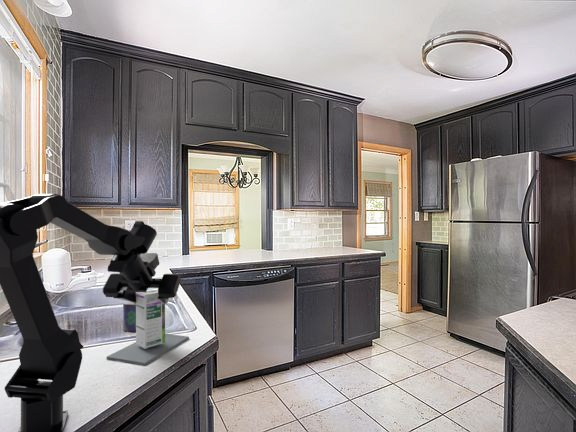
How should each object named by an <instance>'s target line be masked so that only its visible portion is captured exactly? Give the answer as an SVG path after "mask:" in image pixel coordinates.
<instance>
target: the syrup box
mask: <svg viewBox="0 0 576 432" xmlns="http://www.w3.org/2000/svg"><path fill="white" fill-rule="evenodd" d="M158 296H159V295H158V288H152V289H147V291H146V292H136V333H135V342H136V344H138V345H139V346H141V347H142V348H144V349H147V348H149V347H153V346H156V345H159V344H163V343H165V334H166V304H165V303H164V302H162V301H161V300H159V299H158Z"/></svg>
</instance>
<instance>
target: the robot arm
mask: <svg viewBox="0 0 576 432" xmlns="http://www.w3.org/2000/svg"><path fill="white" fill-rule="evenodd" d="M49 224H53V226H54V225H55V226H57V227H58V228H61V229H63V230H65V231H66V232H69V233H70V234H73V235H74V236H77V237H79V238H81V239H83V240H85V241H86V242H87V244H88V245H87V246H88V247H89V248H90V249H91V250H93V251H94V252H95V253H96V254H98V255H99V256H103V255H104V256H112V258H111V259H110V261H109V264H108V266H107V272H109V273H110V274H109V276H108V277H107V280H106V282H105V283H104V286H103V287H102V293H103V294H104V296H105V297H106V298H113V299H117V300H122V301H127V302H129V303H130V302H131V303H136V293H137V292H146V291H147V290H149V289H158V295H159V296H158V299H159V300H161V301H162V302H164V303H165V305H167V304H168V303H169V299H171V298H172V299H173V298H175V297H176V296H177V293H178V291H179V287H180V284H181V281H182V278H181V276H180V275H179V273H164V274H163V275H162V277H161V278H153V277H155V276H156V272H157V271H156V269H157V267H158V266H159V265H160V259H159V256H158V255H159V254H158V253H156V252H155V253H154V252H149V249H150V248H151V246H152V244H153V243H154V241H155V238H156V237H157V235H158V234H157V233H158V232H157V229H156V228H154V227H152V226H151V225H149V224H146V223H145V222H144V221H143V220H142V221H141V220H139V221H138V220H137V221H136V220H135V222H134V223H133V225H132V228H131V229H130V230H129V229H126V228H123V227H119V226H114V225H109V224H106V223H104V222H102V221H101V220H99V219H97V218H96V217H94V216H92V215H90V213H87V212H86V211H84V210H82V209H81V208H80V207H78V206H76V205H74V204H72V203H71V202H69V201H67V199H66V198H65V196H63V195H60V194H57V193H35V194H33V195H30V196H27V197H23V198H20V199H19V198H18V199H15V200H10V201H5V202H0V287H1V290H2V292H3V294H4V297H5V299H6V302H7V305H8V306H9V309H10V310H11V313H12V316H13V318H14V320H15V323H16V325H17V327H18V329H19V332H20V334H21V337H22V340H23V342H22V345H21V348H20V351H19V354H18V358H19V363H20V365H18V368H16V371H14V374H13V375H12V376H11V377H10V379H9V381H8V382H7V383H6V385H5V386H4V391H5V393H6V396H7V397H8V398H9V399H10V398H17V399H20V427H19V429H18V432H64V428H65V426H66V422H67V419H68V416H69V411H68V410H64V395H66V394H67V393H68V392H70V391H72V390H73V389H74V388H76V385H77V381H78V377H79V374H80V371H81V370H80V368H81V366H82V365H81V364H82V360H83V353H82V349H83V348H84V345H83V344H81V341H80V337H79V333H78V331H77V330H76V329H73V328H72V329H70V328H69V329H67V328H61V327H60V325H59V322H58V320H57V317H56V315H55V312H54V310H53V309H54V308H53V306H52V304H51V302H50V299H49V296H48V292H47V291H46V288H45V284H44V282H43V280H42V277H41V274H40V271H39V269H38V266H37V263H36V261H35V258H34V251H35V248H36V245H37V242H38V237H39V236H38V235H39V234H38V230H39V229H41V228H43V227H46V226H48V225H49Z"/></svg>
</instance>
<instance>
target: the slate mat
mask: <svg viewBox="0 0 576 432" xmlns="http://www.w3.org/2000/svg"><path fill="white" fill-rule="evenodd" d="M189 339H190V336H185V335H180V334H179V335H178V334H170V333H165V343H163V344H159V345H156V346H153V347H149V348H147V349H144V348H142V347H141V346H139V345H138V344H136V341H135V342H133V343H132V344H130V345H129V344H128V345H127V346H125V347H123V348H121V349H119V350H117V351H115V352H113V353H111V354H108V355H107V356H106V360H110V361H116V362H120V363H121V362H123V363H128V364H133V365H139V366H146V365H149V363H151V362H153V361H154V360H157V359H158V358H161V356H163V355H164V354H167V353H168V352H169V351H171V350H173V349H174V348H177V347H178V346H179V345H181V344H183V343H185V342H186V341H188V340H189Z"/></svg>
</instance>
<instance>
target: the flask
mask: <svg viewBox="0 0 576 432" xmlns="http://www.w3.org/2000/svg"><path fill="white" fill-rule="evenodd" d="M122 308H123V310H122V311H123V312H122V313H123V315H122V316H123V317H122V321H123V322H122V331H123V332H124V333H130V334H136V303H134V302H130V301H129V302H124V303H123V304H122Z"/></svg>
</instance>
